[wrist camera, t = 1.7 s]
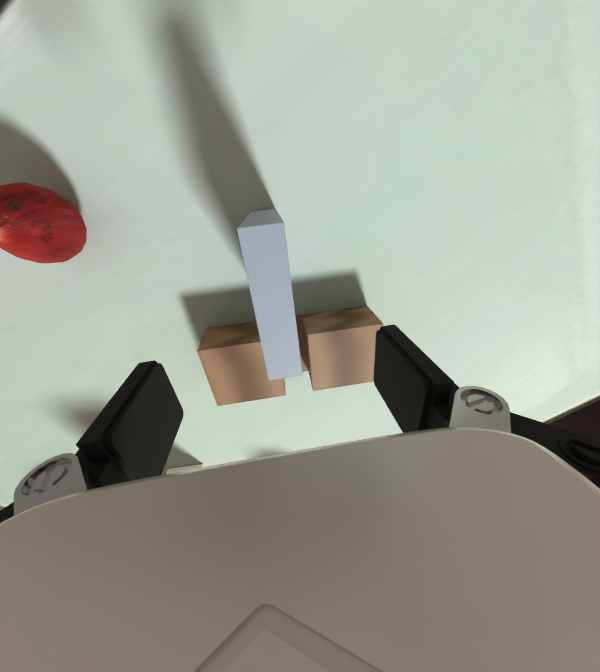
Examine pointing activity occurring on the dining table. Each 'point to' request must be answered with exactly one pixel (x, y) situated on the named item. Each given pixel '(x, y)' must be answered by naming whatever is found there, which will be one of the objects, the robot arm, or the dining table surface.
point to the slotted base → (315, 352)
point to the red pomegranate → (39, 224)
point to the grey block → (271, 291)
